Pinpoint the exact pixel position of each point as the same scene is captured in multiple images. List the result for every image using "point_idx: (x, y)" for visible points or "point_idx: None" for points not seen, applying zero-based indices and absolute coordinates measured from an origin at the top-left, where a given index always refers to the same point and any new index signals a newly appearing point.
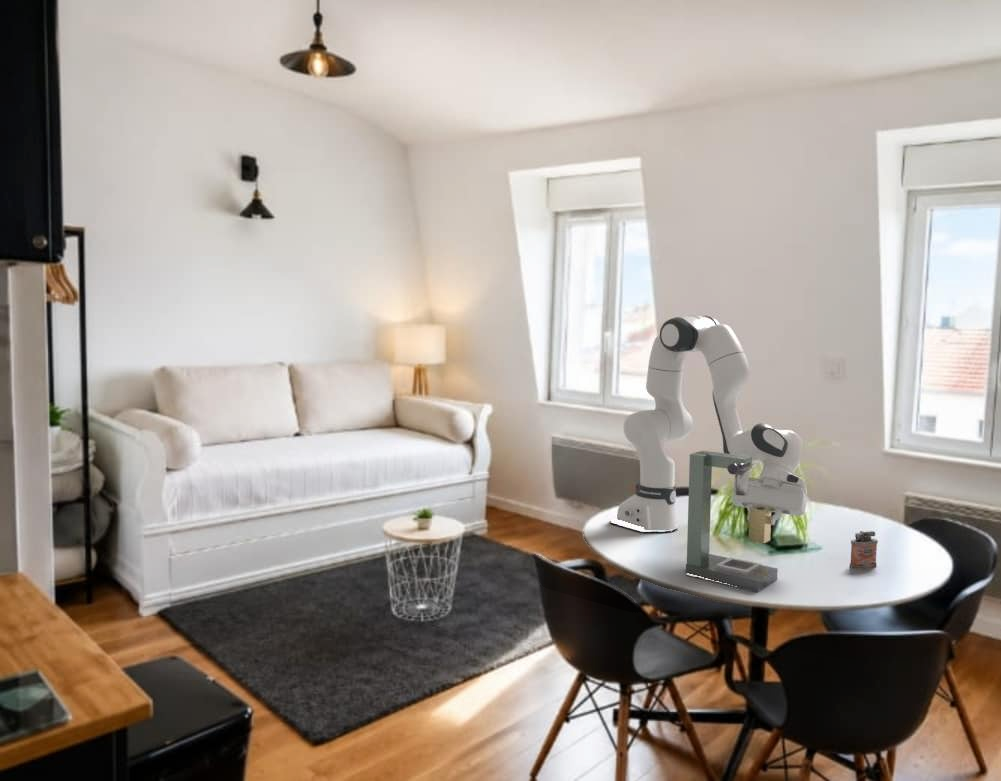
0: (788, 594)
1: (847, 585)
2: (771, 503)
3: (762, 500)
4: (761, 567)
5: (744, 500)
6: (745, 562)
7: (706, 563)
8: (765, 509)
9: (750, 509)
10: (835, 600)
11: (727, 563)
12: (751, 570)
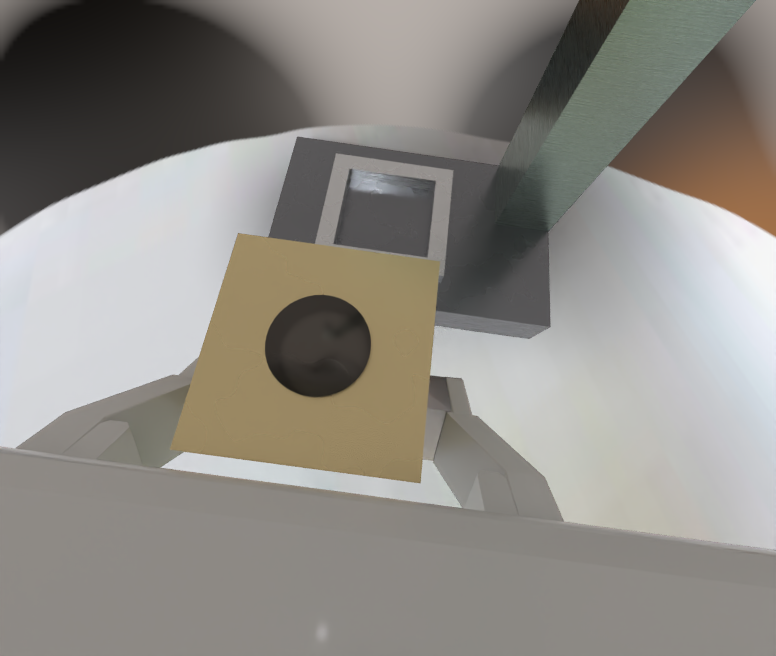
0: (219, 191)
1: (15, 370)
2: (115, 492)
3: (309, 564)
4: None
5: (665, 544)
6: (373, 251)
7: (496, 206)
8: (246, 325)
9: (426, 264)
10: (80, 208)
11: (430, 224)
12: (330, 181)
